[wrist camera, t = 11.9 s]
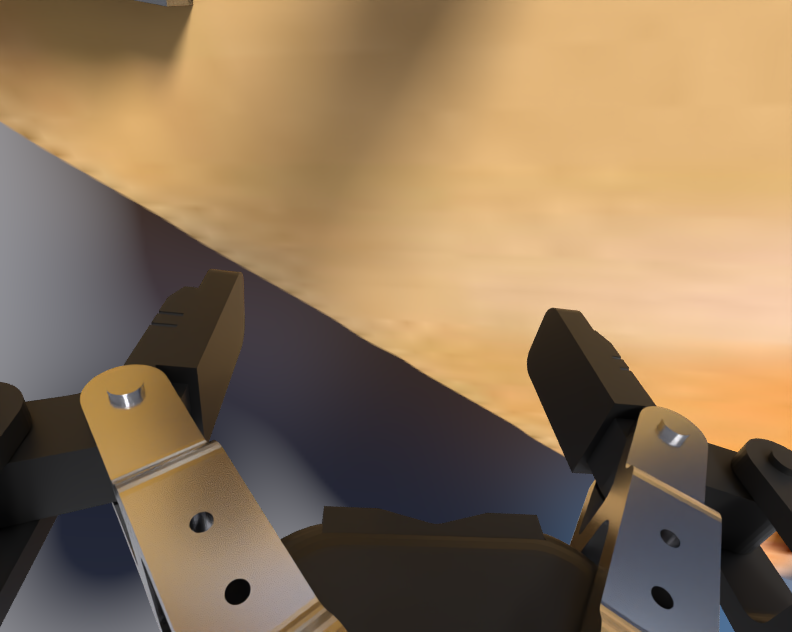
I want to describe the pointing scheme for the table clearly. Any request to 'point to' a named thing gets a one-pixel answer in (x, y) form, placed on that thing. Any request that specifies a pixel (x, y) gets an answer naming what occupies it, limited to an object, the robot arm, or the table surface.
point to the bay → (169, 2)
